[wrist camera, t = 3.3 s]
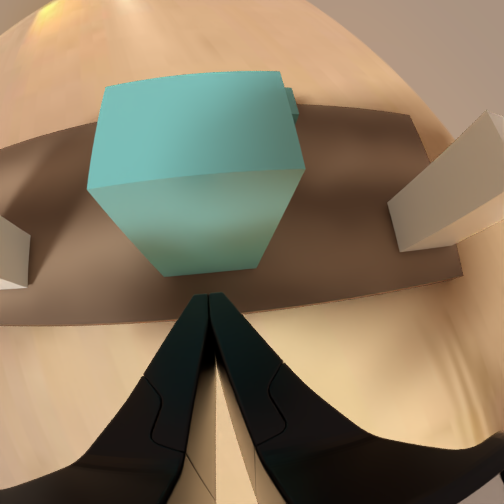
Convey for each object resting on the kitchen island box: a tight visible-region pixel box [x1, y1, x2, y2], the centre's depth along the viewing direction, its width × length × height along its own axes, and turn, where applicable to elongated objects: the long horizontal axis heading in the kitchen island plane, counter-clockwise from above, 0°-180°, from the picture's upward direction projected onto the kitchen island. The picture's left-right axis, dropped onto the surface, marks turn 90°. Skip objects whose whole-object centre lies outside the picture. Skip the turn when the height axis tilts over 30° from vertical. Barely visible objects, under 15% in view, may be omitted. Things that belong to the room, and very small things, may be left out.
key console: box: [0, 88, 463, 326], centre depth 15 cm, size 12×31×4 cm, turn 97°
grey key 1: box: [387, 110, 504, 252], centre depth 12 cm, size 3×4×9 cm
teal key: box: [87, 71, 306, 277], centre depth 10 cm, size 3×4×9 cm
